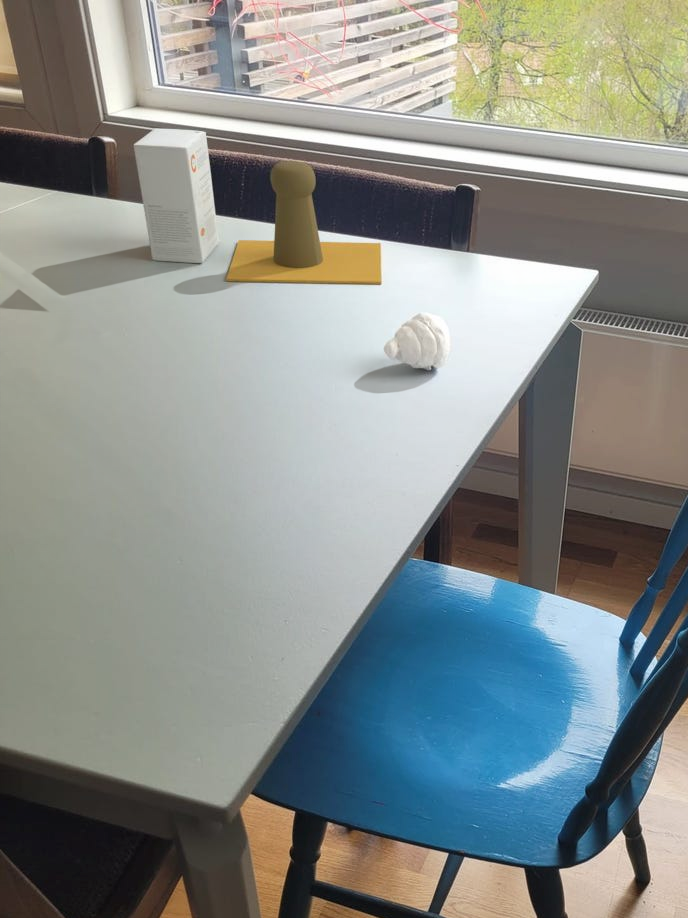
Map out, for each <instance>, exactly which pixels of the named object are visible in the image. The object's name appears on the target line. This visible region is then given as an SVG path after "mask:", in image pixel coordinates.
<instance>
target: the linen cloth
mask: <svg viewBox="0 0 688 918" xmlns="http://www.w3.org/2000/svg"><path fill="white" fill-rule="evenodd" d="M320 245H321V251H322V256H323V261H322V263H321V264H319V265H316V266H313V267H307V268H289V267H284V266H280V265H278V264H276V263H275V262H274V259H273V257H274V240H255V239H254V240H253V239H251V240H249V239H248V240H246V239H239V240H238V241H237V244H236V248H235V250H234V254H233V257H232V260H231V263H230V266H229V268H228V272H227V275H226V280H225V281H226V282H240V283H241V282H242V283H247V282H248V283H294V284H295V283H299V284H347V285H348V284H351V285H352V284H353V285H354V284H355V285H382V244H381V242H348V241H347V242H344V241H320Z"/></svg>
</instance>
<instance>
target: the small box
mask: <svg viewBox="0 0 688 918" xmlns="http://www.w3.org/2000/svg"><path fill="white" fill-rule="evenodd" d="M132 146H133V151H134V157H135V164H136V170H137V174H138V175H137V176H138V180H139V188H140V194H141V198H142V205H143V212H144V218H145V223H146V228H147V235H148V241H149V246H150V248H149V249H150V253H151V258H152V260H153V261H154V262H155V261H156V262H171V263H172V262H173V263H174V262H175V263H188V264H203V263H204V261H205V260H206V259H207V258H208V257H209V255H210V254H211V253H212V252H213V250H214V249H215V248H217V247H216V246H217V245H218V244H220V239H219V230H218V222H217V214H216V206H215V198H214V190H213V189H214V188H213V181H212V172H211V164H210V163H211V162H210V156H209V148H208V139H207V132H206V131H203V130H192V129H178V128H158V127H157V128H156V127H155V128H153V129H152V130H151V131H150V132H148V133H147V134H146V135H144V136H143V137H142V138H141V139H139V140H137V141H136V142H135V143H134V144H132Z"/></svg>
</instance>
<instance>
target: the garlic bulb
mask: <svg viewBox="0 0 688 918" xmlns="http://www.w3.org/2000/svg"><path fill="white" fill-rule="evenodd" d="M383 351H384V353H385V355H386V356H387V357H388V358H389V359H390V360H399V361H401V363H405V364H406V365H410V366H411V368H413V369H423V370H427V371H431V370H432V367H433V368H435V369H437V370H438V369H441V368H442V367H444V366H445V364H446V362H447V360H448V358H449V356H450V353H451V336H450V331H449V328H448V326H447V324H446V323H445V320H444V319H443V318H442V317H441V316H440V315H434V314H432V313H429V312H419V313H418V314H416V315H414V316H413V317H412V318H411V319H409V320H407V321H406V322H404V323H403V324H402V325H401V326H400V327H399V328H398V329H397V330H396V332H395V333H394V337H392V338H391V339H390V340H388V341H387V342H386V343H385V345H383Z"/></svg>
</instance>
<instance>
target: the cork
mask: <svg viewBox="0 0 688 918" xmlns="http://www.w3.org/2000/svg"><path fill="white" fill-rule="evenodd" d="M269 179H270V184H271V187H272V190H273V191H274V192H275V195H276V196H275V217H274V218H275V219H274V238H273V241H274V257H273V259H274V262H275V263H276V264H278V265H280V266H284V267H289V268H307V267H313V266H316V265H319V264H321V263H322V261H323V256H322V251H321V245H320V242H321V241H320V235H319V228H318V223H317V217H316V212H315V205H314V201H313V200H314V199H313V195H312V194H313V192H314V190H315V189H316V182H317V180H316V175H315V171H314V169H313V168H312V166H311V165H309V164H308V163H306V162H302V161H297V160H288V161H281V162H278V163H276V164H275V165H273V166H272V168H271V170H270V176H269Z"/></svg>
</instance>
